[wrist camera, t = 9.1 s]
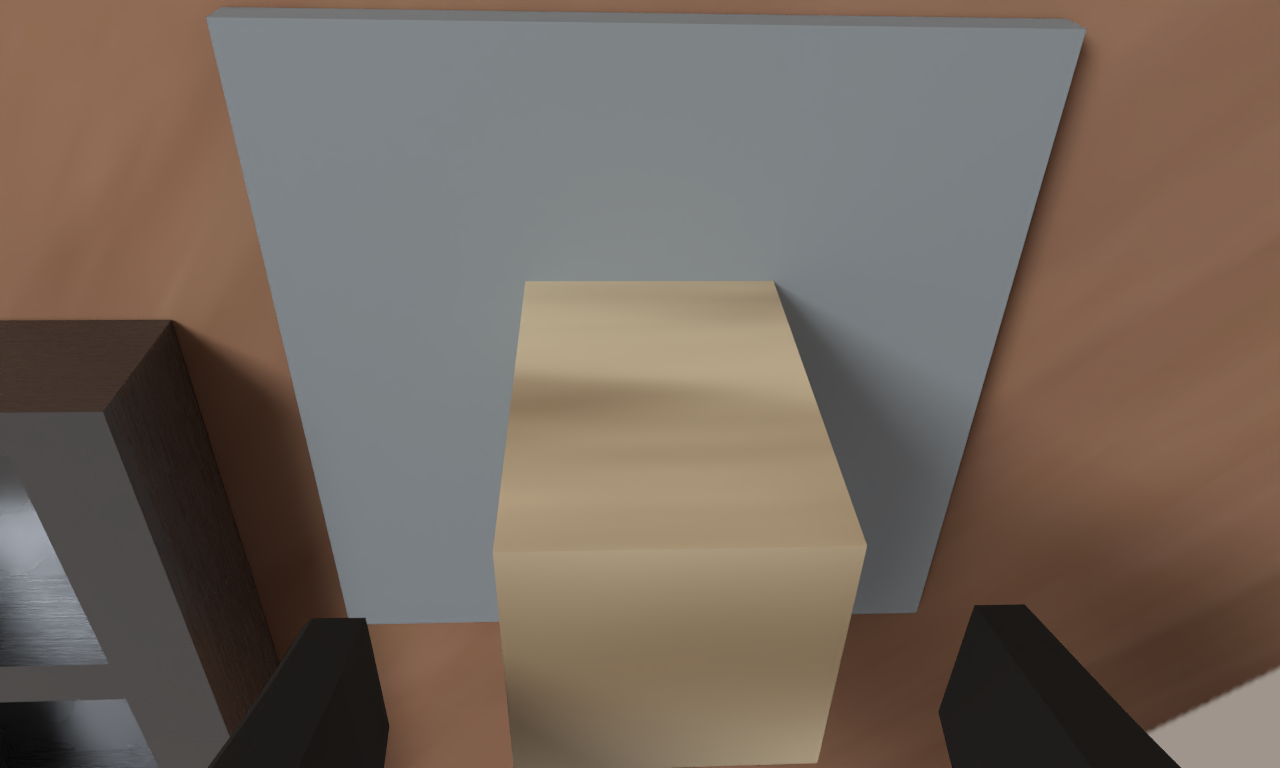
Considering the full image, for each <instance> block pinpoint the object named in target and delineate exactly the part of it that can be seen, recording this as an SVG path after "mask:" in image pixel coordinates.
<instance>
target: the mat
mask: <svg viewBox="0 0 1280 768" xmlns="http://www.w3.org/2000/svg"><path fill="white" fill-rule="evenodd" d="M206 19H207V23H208V28H209V32H210V36H211V40H212V45H213V49H214V53H215V57H216V61H217V66H218V70H219V74H220V78H221V83H222V87H223V91H224V95H225V99H226V104H227V108H228V112H229V116H230V121H231V125H232V129H233V133H234V137H235V142H236V146H237V150H238V154H239V159H240V163H241V167H242V171H243V175H244V180H245V184H246V188H247V192H248V197H249V201H250V205H251V209H252V213H253V218H254V222H255V226H256V230H257V235H258V239H259V243H260V247H261V251H262V256H263V260H264V264H265V268H266V272H267V277H268V281H269V285H270V289H271V294H272V298H273V302H274V306H275V310H276V315H277V319H278V323H279V327H280V332H281V336H282V340H283V344H284V348H285V353H286V357H287V361H288V365H289V370H290V374H291V378H292V382H293V386H294V391H295V395H296V399H297V403H298V408H299V412H300V416H301V420H302V424H303V429H304V433H305V437H306V441H307V446H308V450H309V454H310V458H311V462H312V467H313V471H314V475H315V479H316V484H317V488H318V492H319V496H320V500H321V505H322V509H323V513H324V517H325V522H326V526H327V530H328V534H329V538H330V543H331V547H332V551H333V555H334V560H335V564H336V568H337V572H338V576H339V581H340V585H341V589H342V593H343V598H344V602H345V606H346V610H347V614H348V618H366V622H367V624H403V623H451V622H499V612H498V602H497V592H496V582H495V571H494V561H493V545H494V537H495V529H496V520H497V512H498V504H499V496H500V487H501V479H502V471H503V462H504V454H505V446H506V437H507V429H508V421H509V412H510V404H511V396H512V387H513V379H514V371H515V363H516V354H517V346H518V338H519V329H520V321H521V313H522V304H523V296H524V288H525V281H774V284H775V287H776V290H777V293H778V295H779V298H780V301H781V304H782V307H783V310H784V312H785V315H786V318H787V321H788V324H789V327H790V329H791V332H792V335H793V338H794V341H795V343H796V346H797V349H798V352H799V355H800V358H801V360H802V363H803V366H804V369H805V372H806V374H807V377H808V380H809V383H810V386H811V389H812V391H813V394H814V397H815V400H816V403H817V406H818V408H819V411H820V414H821V417H822V420H823V422H824V425H825V428H826V431H827V434H828V437H829V439H830V442H831V445H832V448H833V451H834V454H835V456H836V459H837V462H838V465H839V468H840V470H841V473H842V476H843V479H844V482H845V485H846V487H847V490H848V493H849V496H850V499H851V502H852V504H853V507H854V510H855V513H856V516H857V518H858V521H859V524H860V527H861V530H862V533H863V535H864V538H865V541H866V544H867V549H866V553H865V558H864V562H863V566H862V571H861V575H860V579H859V584H858V588H857V592H856V597H855V601H854V605H853V610H852V614H880V613H917V609H918V606H919V603H920V599H921V596H922V592H923V589H924V585H925V582H926V578H927V575H928V572H929V568H930V565H931V561H932V558H933V554H934V551H935V548H936V544H937V541H938V537H939V534H940V530H941V527H942V524H943V520H944V517H945V513H946V510H947V506H948V503H949V500H950V496H951V493H952V489H953V486H954V482H955V479H956V475H957V472H958V469H959V465H960V462H961V458H962V455H963V451H964V448H965V445H966V441H967V438H968V434H969V431H970V427H971V424H972V421H973V417H974V414H975V410H976V407H977V403H978V400H979V396H980V393H981V390H982V386H983V383H984V379H985V376H986V372H987V369H988V366H989V362H990V359H991V355H992V352H993V348H994V345H995V342H996V338H997V335H998V331H999V328H1000V324H1001V321H1002V318H1003V314H1004V311H1005V307H1006V304H1007V300H1008V297H1009V293H1010V290H1011V287H1012V283H1013V280H1014V276H1015V273H1016V269H1017V266H1018V263H1019V259H1020V256H1021V252H1022V249H1023V245H1024V242H1025V239H1026V235H1027V232H1028V228H1029V225H1030V221H1031V218H1032V214H1033V211H1034V208H1035V204H1036V201H1037V197H1038V194H1039V190H1040V187H1041V184H1042V180H1043V177H1044V173H1045V170H1046V166H1047V163H1048V160H1049V156H1050V153H1051V149H1052V146H1053V142H1054V139H1055V136H1056V132H1057V129H1058V125H1059V122H1060V118H1061V115H1062V111H1063V108H1064V105H1065V101H1066V98H1067V94H1068V91H1069V87H1070V84H1071V81H1072V77H1073V74H1074V70H1075V67H1076V63H1077V60H1078V57H1079V53H1080V50H1081V46H1082V43H1083V39H1084V36H1085V32H1086V29H1085V28H1083V27H1082V26H1080V25H1078V24H1076V23H1074V22H1072V21H1071V20H1069V19H1033V18H962V17H891V16H820V15H749V14H677V13H606V12H535V11H464V10H393V9H321V8H250V7H221V8H219V9H218V10H216V11H215V12H213V13H212V14H210V15H209V16H207V17H206Z"/></svg>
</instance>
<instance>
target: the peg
mask: <svg viewBox="0 0 1280 768" xmlns="http://www.w3.org/2000/svg"><path fill="white" fill-rule="evenodd" d="M866 549H867V544H866V541H865V538H864V535H863V533H862V530H861V527H860V524H859V521H858V518H857V516H856V513H855V510H854V507H853V504H852V502H851V499H850V496H849V493H848V490H847V487H846V485H845V482H844V479H843V476H842V473H841V470H840V468H839V465H838V462H837V459H836V456H835V454H834V451H833V448H832V445H831V442H830V439H829V437H828V434H827V431H826V428H825V425H824V422H823V420H822V417H821V414H820V411H819V408H818V406H817V403H816V400H815V397H814V394H813V391H812V389H811V386H810V383H809V380H808V377H807V374H806V372H805V369H804V366H803V363H802V360H801V358H800V355H799V352H798V349H797V346H796V343H795V341H794V338H793V335H792V332H791V329H790V327H789V324H788V321H787V318H786V315H785V312H784V310H783V307H782V304H781V301H780V298H779V295H778V293H777V290H776V287H775V284H774V281H525V288H524V296H523V304H522V313H521V321H520V329H519V338H518V346H517V354H516V363H515V371H514V379H513V387H512V396H511V404H510V412H509V421H508V429H507V437H506V446H505V454H504V462H503V471H502V479H501V487H500V496H499V504H498V512H497V520H496V529H495V537H494V545H493V561H494V571H495V582H496V592H497V602H498V612H499V623H500V633H501V643H502V653H503V664H504V674H505V684H506V694H507V705H508V715H509V725H510V735H511V746H512V756H513V766H514V768H669V767H702V766H736V765H769V764H802V763H817V762H818V758H819V753H820V749H821V745H822V740H823V736H824V731H825V727H826V723H827V718H828V714H829V710H830V705H831V701H832V697H833V692H834V688H835V684H836V679H837V675H838V671H839V666H840V662H841V658H842V653H843V649H844V645H845V640H846V636H847V632H848V627H849V623H850V619H851V614H852V610H853V605H854V601H855V597H856V592H857V588H858V584H859V579H860V575H861V571H862V566H863V562H864V558H865V553H866Z"/></svg>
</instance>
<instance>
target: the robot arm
mask: <svg viewBox="0 0 1280 768" xmlns="http://www.w3.org/2000/svg"><path fill="white" fill-rule="evenodd" d="M939 716H940V720H941V724H942V728H943V732H944V736H945V741H946V745H947V749H948V753H949V757H950V761H951V765H952V768H1181V767H1180V766H1179V765H1178V764H1177V763H1176V762H1175V761H1174V760H1173V759H1172V758H1171V757H1170V756H1168V754H1167V753H1166V752H1165V751H1164V750H1163V749H1162V748H1161V747H1160V746H1159V745H1158V744H1157V743H1156V742H1155V741H1154V740H1153V739H1152V738H1151V737H1150V736H1149V735H1148V734H1147V733H1146V732H1145V731H1144V730H1143V729H1142V728H1141V727H1140V726H1139V725H1138V724H1137V723H1136V722H1135V721H1134V720H1133V719H1132V718H1131V717H1130V716H1129V715H1128V714H1127V713H1126V712H1125V711H1124V709H1123V708H1122V707H1121V706H1120V705H1119V704H1118V703H1117V702H1116V701H1115V700H1114V699H1113V698H1112V697H1111V696H1110V695H1109V694H1108V693H1107V692H1106V691H1105V689H1104V688H1103V687H1102V686H1101V685H1100V684H1099V683H1098V682H1097V681H1096V680H1095V679H1094V678H1093V677H1092V676H1091V675H1090V674H1089V673H1088V671H1087V670H1086V669H1085V668H1084V667H1083V666H1082V665H1081V664H1080V663H1079V662H1078V661H1077V660H1076V659H1075V658H1074V657H1073V655H1072V654H1071V653H1070V652H1069V651H1068V650H1067V649H1066V648H1065V647H1064V646H1063V645H1062V644H1061V643H1060V642H1059V641H1058V640H1057V638H1056V637H1055V636H1054V635H1053V634H1052V633H1051V632H1050V631H1049V630H1048V629H1047V628H1046V627H1045V626H1044V625H1043V624H1042V622H1041V621H1040V620H1039V619H1038V618H1037V617H1036V616H1035V615H1034V614H1033V613H1032V612H1031V611H1030V610H1029V609H1028V608H1027V607H1026V606H1025V605H1024V604H1022V605H975V606H974V609H973V612H972V615H971V618H970V620H969V623H968V626H967V629H966V632H965V635H964V638H963V641H962V644H961V647H960V650H959V653H958V656H957V659H956V662H955V665H954V668H953V671H952V674H951V677H950V680H949V683H948V686H947V689H946V691H945V694H944V697H943V700H942V703H941V706H940V709H939ZM388 732H389V723H388V718H387V714H386V709H385V704H384V700H383V695H382V691H381V686H380V681H379V677H378V672H377V668H376V663H375V658H374V654H373V649H372V645H371V640H370V636H369V631H368V626H367V622H366V618H322V619H311V620H310V621H309V622H308V623H307V624H306V625H304V627H303V628H302V630H301V632H300V633H299V635H298V636H297V638H296V639H295V641H294V643H293V644H292V646H291V647H290V649H289V650H288V652H287V654H286V655H285V657H284V658H283V660H282V661H281V663H280V664H279V666H278V667H277V669H276V670H275V672H274V673H273V675H272V676H271V678H270V680H269V681H268V683H267V684H266V685H265V687H264V688H263V690H262V691H261V693H260V694H259V696H258V697H257V699H256V700H255V702H254V703H253V705H252V706H251V707H250V709H249V710H248V712H247V713H246V715H245V716H244V718H243V719H242V721H241V722H240V723H239V725H238V726H237V728H236V729H235V731H234V732H233V733H232V735H231V736H230V738H229V739H228V740H227V742H226V743H225V744H224V746H223V747H222V748H221V750H220V751H219V753H218V754H217V755H216V757H215V758H214V759H213V761H212V762H211V764H210V765H209V766H208V768H384V762H385V755H386V747H387V740H388Z"/></svg>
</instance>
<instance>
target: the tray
mask: <svg viewBox="0 0 1280 768" xmlns="http://www.w3.org/2000/svg"><path fill="white" fill-rule="evenodd" d="M278 666H279V662H278V659H277V655H276V652H275V649H274V646H273V643H272V640H271V636H270V633H269V630H268V627H267V624H266V621H265V617H264V614H263V611H262V608H261V605H260V601H259V598H258V595H257V592H256V589H255V586H254V582H253V579H252V576H251V573H250V570H249V567H248V563H247V560H246V557H245V554H244V551H243V547H242V544H241V541H240V538H239V535H238V532H237V528H236V525H235V522H234V519H233V516H232V513H231V509H230V506H229V503H228V500H227V497H226V493H225V490H224V487H223V484H222V481H221V478H220V474H219V471H218V468H217V465H216V462H215V459H214V455H213V452H212V449H211V446H210V443H209V439H208V436H207V433H206V430H205V427H204V424H203V420H202V417H201V414H200V411H199V408H198V405H197V401H196V398H195V395H194V392H193V389H192V385H191V382H190V379H189V376H188V373H187V370H186V366H185V363H184V360H183V357H182V354H181V351H180V347H179V344H178V341H177V338H176V335H175V331H174V328H173V325H172V322H171V320H53V321H0V768H208V766H209V765H210V764H211V762H212V761H213V759H214V758H215V757H216V755H217V754H218V753H219V751H220V750H221V748H222V747H223V746H224V744H225V743H226V742H227V740H228V739H229V738H230V736H231V735H232V733H233V732H234V731H235V729H236V728H237V726H238V725H239V723H240V722H241V721H242V719H243V718H244V716H245V715H246V713H247V712H248V710H249V709H250V707H251V706H252V705H253V703H254V702H255V700H256V699H257V697H258V696H259V694H260V693H261V691H262V690H263V688H264V687H265V685H266V684H267V683H268V681H269V680H270V678H271V676H272V675H273V673H274V672H275V670H276V669H277V667H278Z"/></svg>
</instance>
